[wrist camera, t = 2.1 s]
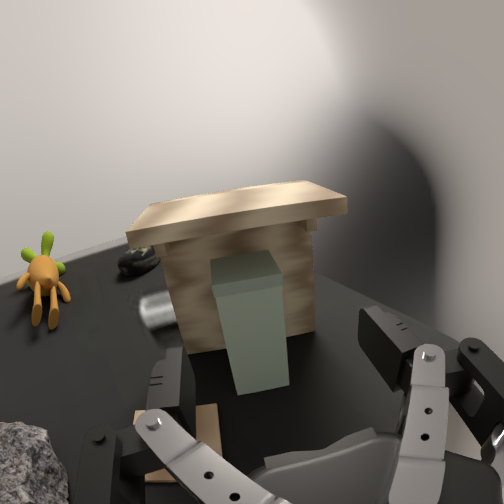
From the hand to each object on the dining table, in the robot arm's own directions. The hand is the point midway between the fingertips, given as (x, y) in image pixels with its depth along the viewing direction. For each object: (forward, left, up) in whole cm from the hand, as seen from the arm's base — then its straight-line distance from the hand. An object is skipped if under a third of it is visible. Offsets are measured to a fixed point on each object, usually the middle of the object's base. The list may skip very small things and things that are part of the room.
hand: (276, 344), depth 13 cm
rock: (-25, -4, -13) cm, 28 cm away
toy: (-40, +39, -14) cm, 58 cm away
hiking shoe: (-18, +52, -14) cm, 57 cm away
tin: (0, +12, -13) cm, 18 cm away
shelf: (0, +13, -13) cm, 19 cm away
